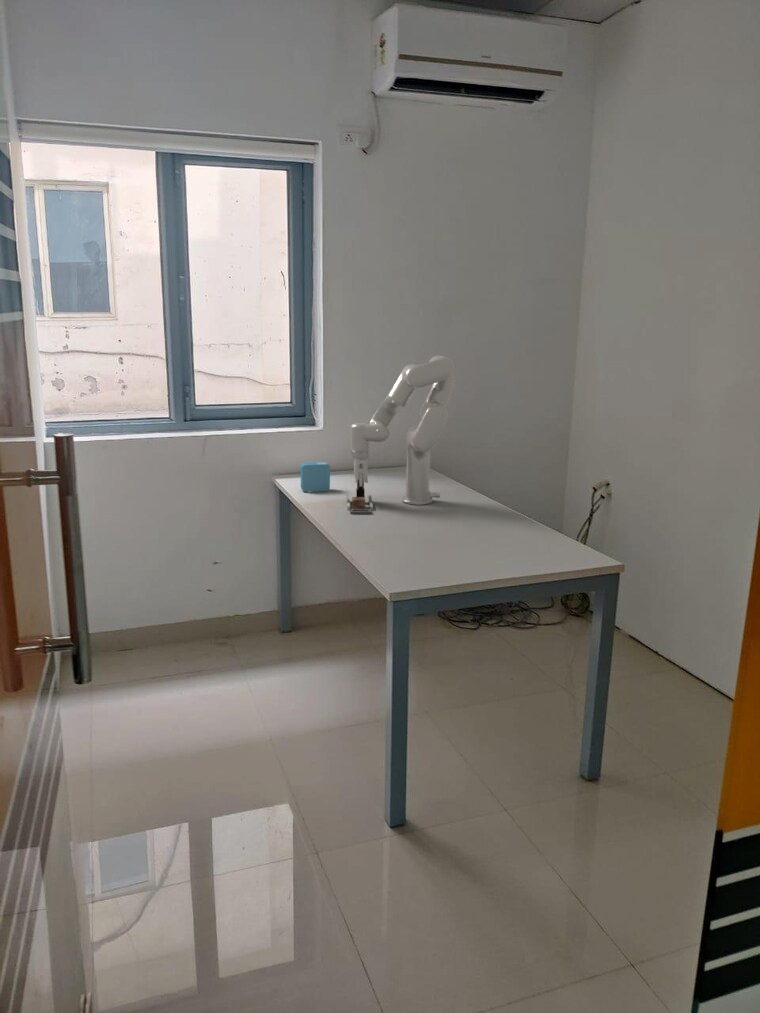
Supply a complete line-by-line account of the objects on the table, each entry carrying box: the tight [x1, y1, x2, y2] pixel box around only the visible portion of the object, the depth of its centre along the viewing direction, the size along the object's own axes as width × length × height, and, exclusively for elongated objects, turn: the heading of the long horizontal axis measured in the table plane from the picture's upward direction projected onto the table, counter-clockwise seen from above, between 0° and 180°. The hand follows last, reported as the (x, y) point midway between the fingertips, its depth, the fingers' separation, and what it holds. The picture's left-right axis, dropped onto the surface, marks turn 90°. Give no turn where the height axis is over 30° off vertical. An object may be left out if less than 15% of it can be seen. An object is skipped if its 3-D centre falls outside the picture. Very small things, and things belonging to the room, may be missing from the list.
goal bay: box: [346, 502, 374, 511], centre depth 309 cm, size 10×6×2 cm, turn 94°
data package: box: [300, 461, 331, 493], centre depth 334 cm, size 12×4×12 cm, turn 104°
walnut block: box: [351, 496, 366, 509], centre depth 309 cm, size 5×5×4 cm
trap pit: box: [349, 508, 372, 515], centre depth 302 cm, size 8×4×1 cm, turn 94°
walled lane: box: [346, 494, 373, 506], centre depth 316 cm, size 10×7×2 cm
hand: (360, 498), depth 317 cm, fingers closed
